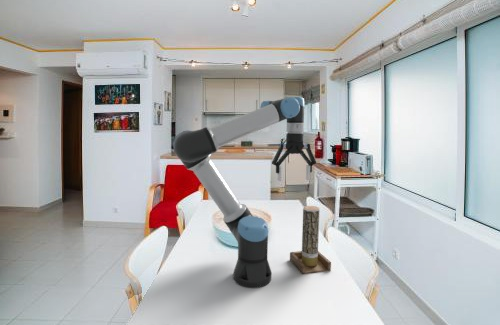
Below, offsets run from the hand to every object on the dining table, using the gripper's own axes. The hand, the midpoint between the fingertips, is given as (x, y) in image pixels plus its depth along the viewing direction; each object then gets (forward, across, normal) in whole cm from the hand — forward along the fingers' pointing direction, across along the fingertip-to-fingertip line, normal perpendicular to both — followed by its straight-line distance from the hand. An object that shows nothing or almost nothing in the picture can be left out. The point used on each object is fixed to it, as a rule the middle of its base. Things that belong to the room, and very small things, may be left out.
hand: (293, 180), depth 128 cm
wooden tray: (+36, +5, -10) cm, 38 cm away
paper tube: (+36, +4, -10) cm, 37 cm away
